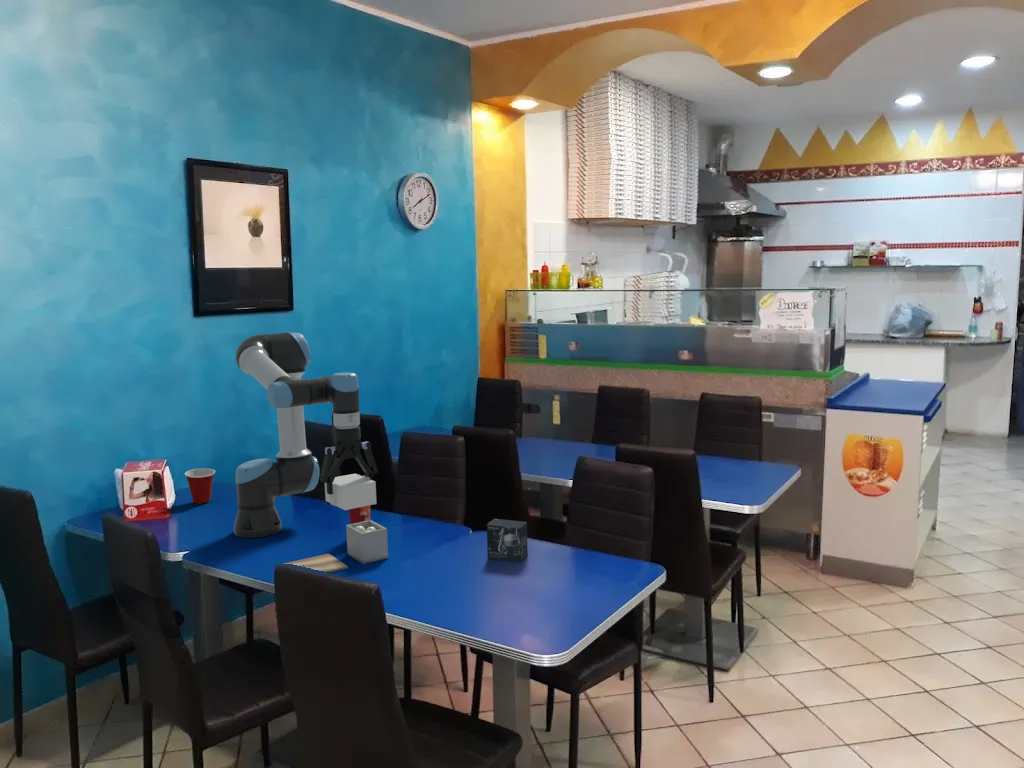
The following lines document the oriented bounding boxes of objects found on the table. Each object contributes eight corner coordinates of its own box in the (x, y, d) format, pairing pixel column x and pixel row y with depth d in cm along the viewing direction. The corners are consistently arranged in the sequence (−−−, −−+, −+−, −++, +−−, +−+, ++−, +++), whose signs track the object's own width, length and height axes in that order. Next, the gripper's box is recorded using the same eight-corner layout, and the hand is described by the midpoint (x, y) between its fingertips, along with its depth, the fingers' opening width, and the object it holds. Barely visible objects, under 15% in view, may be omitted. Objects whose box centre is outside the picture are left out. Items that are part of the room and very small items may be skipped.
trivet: (283, 565, 240) (282, 563, 240) (328, 555, 248) (328, 553, 248) (300, 579, 229) (300, 577, 229) (347, 568, 237) (347, 566, 237)
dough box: (347, 554, 249) (346, 525, 248) (372, 548, 254) (370, 520, 252) (363, 563, 240) (361, 533, 239) (388, 558, 245) (386, 528, 243)
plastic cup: (195, 508, 305) (193, 476, 303) (181, 503, 312) (179, 472, 310) (223, 501, 313) (220, 470, 311) (208, 497, 320) (206, 466, 318)
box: (486, 559, 242) (485, 524, 240) (495, 552, 248) (494, 518, 246) (520, 562, 238) (519, 527, 237) (528, 555, 244) (527, 521, 243)
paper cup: (367, 541, 260) (365, 498, 259) (344, 540, 262) (342, 497, 260) (376, 534, 268) (374, 491, 266) (354, 533, 269) (352, 491, 268)
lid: (325, 500, 245) (324, 479, 244) (356, 494, 251) (355, 473, 250) (344, 510, 235) (343, 487, 234) (376, 503, 240) (375, 481, 240)
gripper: (315, 433, 230) (319, 511, 233) (388, 423, 243) (391, 497, 246) (304, 429, 236) (308, 505, 239) (376, 419, 249) (379, 492, 252)
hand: (350, 501), depth 243 cm, fingers closed on lid, 10 cm apart
